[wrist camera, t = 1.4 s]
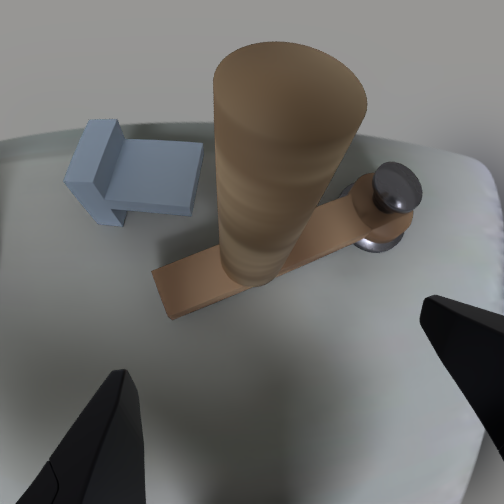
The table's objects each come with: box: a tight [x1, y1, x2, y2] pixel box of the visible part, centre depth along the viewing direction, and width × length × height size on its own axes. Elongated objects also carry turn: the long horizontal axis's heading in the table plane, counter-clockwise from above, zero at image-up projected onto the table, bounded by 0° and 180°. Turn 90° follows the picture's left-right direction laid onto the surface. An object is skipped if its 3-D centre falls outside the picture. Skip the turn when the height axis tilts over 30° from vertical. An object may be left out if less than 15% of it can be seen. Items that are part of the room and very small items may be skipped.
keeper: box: [63, 119, 204, 227], centre depth 19 cm, size 7×4×6 cm, turn 85°
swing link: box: [151, 42, 413, 320], centre depth 14 cm, size 18×5×14 cm, turn 114°
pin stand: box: [338, 162, 422, 253], centre depth 20 cm, size 6×6×5 cm
